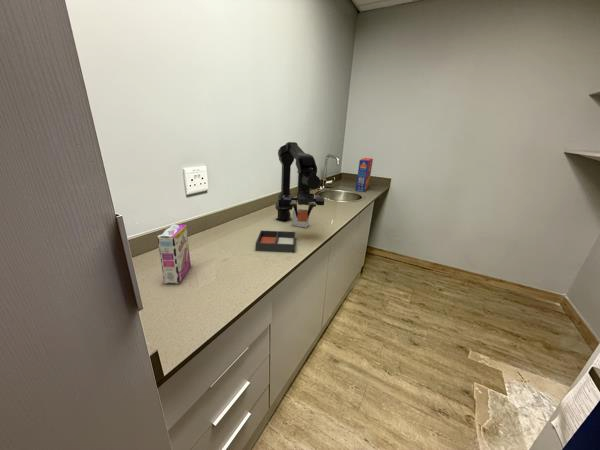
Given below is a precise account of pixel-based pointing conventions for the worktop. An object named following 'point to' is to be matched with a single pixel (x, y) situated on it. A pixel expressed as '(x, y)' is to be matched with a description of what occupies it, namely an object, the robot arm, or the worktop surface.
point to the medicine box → (298, 223)
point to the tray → (276, 241)
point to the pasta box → (364, 174)
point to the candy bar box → (174, 253)
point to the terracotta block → (302, 215)
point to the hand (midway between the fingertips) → (302, 217)
